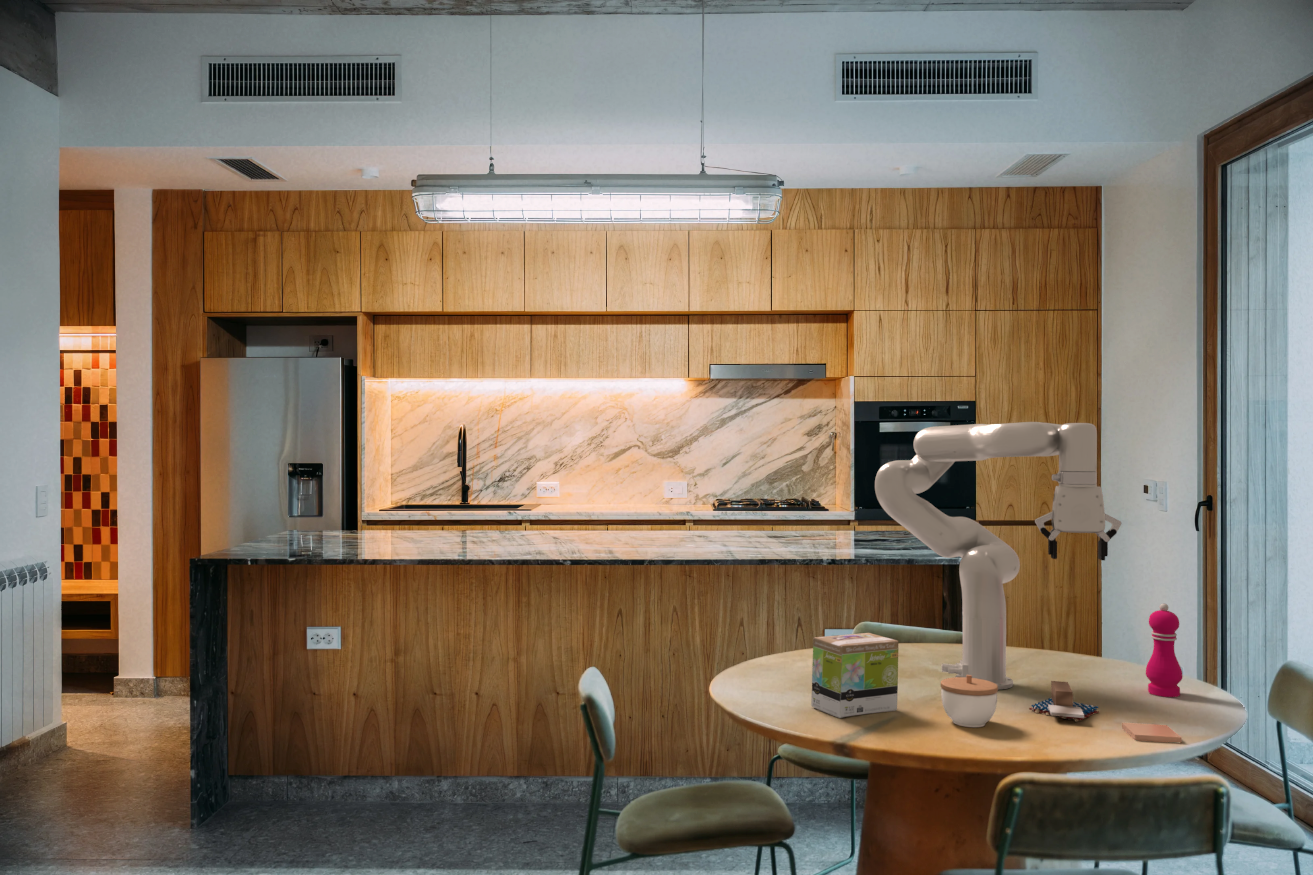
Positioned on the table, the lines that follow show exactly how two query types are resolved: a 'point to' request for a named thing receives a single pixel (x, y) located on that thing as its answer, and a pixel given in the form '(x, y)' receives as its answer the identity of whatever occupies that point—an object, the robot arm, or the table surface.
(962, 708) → the lidded jar
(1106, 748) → the table surface
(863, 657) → the tea box
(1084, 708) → the woven mat
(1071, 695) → the turner
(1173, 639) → the pepper mill
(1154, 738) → the tile
